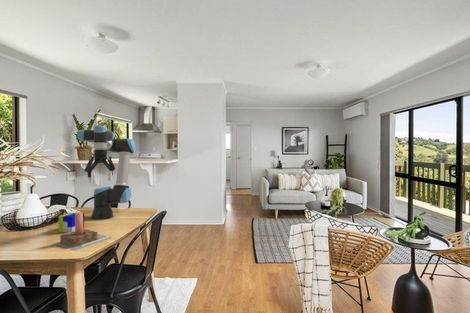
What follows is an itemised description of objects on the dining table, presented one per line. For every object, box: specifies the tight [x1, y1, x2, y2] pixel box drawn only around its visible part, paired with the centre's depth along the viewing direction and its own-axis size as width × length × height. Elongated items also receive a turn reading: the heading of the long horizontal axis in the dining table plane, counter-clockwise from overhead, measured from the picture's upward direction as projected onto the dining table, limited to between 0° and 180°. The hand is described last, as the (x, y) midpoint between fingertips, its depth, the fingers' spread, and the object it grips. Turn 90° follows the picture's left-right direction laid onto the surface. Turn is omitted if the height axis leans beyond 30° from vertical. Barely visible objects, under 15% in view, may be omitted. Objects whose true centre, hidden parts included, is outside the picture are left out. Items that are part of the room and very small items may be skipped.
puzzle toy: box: [58, 212, 85, 233], centre depth 166 cm, size 10×10×10 cm
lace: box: [81, 236, 110, 246], centre depth 142 cm, size 16×1×1 cm, turn 153°
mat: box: [53, 233, 113, 251], centre depth 144 cm, size 22×20×1 cm
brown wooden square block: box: [59, 228, 98, 247], centre depth 142 cm, size 13×13×4 cm
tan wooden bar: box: [74, 211, 84, 236], centre depth 142 cm, size 4×4×16 cm
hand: (100, 181), depth 166 cm, fingers open, 13 cm apart
